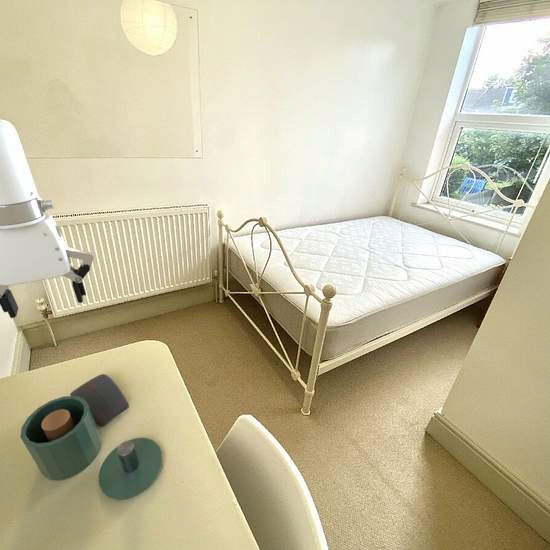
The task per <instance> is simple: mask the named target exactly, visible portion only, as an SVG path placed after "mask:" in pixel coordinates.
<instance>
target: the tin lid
mask: <svg viewBox="0 0 550 550" xmlns="http://www.w3.org/2000/svg"><path fill="white" fill-rule="evenodd" d="M162 465H163V452H162V449H161V447H160V445H159V444H158V443H157V442H155V441H154V440H153V439H150V438H148V437H136V438H131V439H128V440H125V441H123V442H121V443H120V444H119V445H118V446H116V447H115V448H113V449H112V451H110V453H109V454H108V455H107V456H106V458H105V459H104V460H103V462H102V464H101V466H100V469H99V471H98V486H99V488H100V490H101V492H102V493H103V494H104V495H105V496H106V497H107V498H110V499H113V500H116V501H120V500H127V499H131V498H134V497H136V496H138V495H139V494H141V493H143V492H144V491H146V490H147V489H148V488H149V487H150V486H151V485H152V484H153V483H154V481H155V480H156V479H157V477H158V476H159V474H160V472H161V469H162Z"/></svg>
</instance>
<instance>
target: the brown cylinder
mask: <svg viewBox="0 0 550 550" xmlns="http://www.w3.org/2000/svg"><path fill="white" fill-rule="evenodd" d="M41 427H42V429H43V431H44V433H45V435H46V436H47V438H48V440H49V442H51V441H54V440H56V439H59V438H61V437H63V436H64V435H66V434H67V433H69V432H70V431H72V430H73V429H74V428H75V424H74V422H73V420H72V418H71V415H70V413H69V411H67V410H65V409H60V410H56V411H54V412H52V413H50V414H49V415H47V416H46V417H45V418H44V420H43V421H42V424H41Z"/></svg>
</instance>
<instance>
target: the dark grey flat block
mask: <svg viewBox="0 0 550 550" xmlns="http://www.w3.org/2000/svg"><path fill="white" fill-rule="evenodd" d="M69 396H77V397H80V398H83V399H84V400H85V401H86V403H87V404H88V406H89V409H90V411H91V414H92V416H93V419H94V421H95V423H97V424H98V425H99V426H101V427H104V426H106V425H107V424H108V423H109V422H111V421H112V420H113V419H115V418H116V417H117V416H119V415H120V414H121V413H123V412H124V411H125V410H127V409H128V408H130V404H129V402H128V400H127V399H126V397H125V395H124V393H123V392H122V390H121V389H120V387H119V386H118V385H117V384H116V382H115V381H114V380H113V379H112V378H111V377H110V376H108V374H106V373H101V374H98V375H97V376H95V377H93V378H91V379H90V380H88V381H86V382H84V383H83V384H81V385H80V386H78V387H77V388H75V389H74V390H72V391H71V392H70V395H69Z"/></svg>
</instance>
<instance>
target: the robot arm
mask: <svg viewBox="0 0 550 550" xmlns="http://www.w3.org/2000/svg"><path fill="white" fill-rule="evenodd" d="M23 148H24V147H23V146H22V143H21V140H20V137H19V134H18V131H17V130H16V128H15V126H14V125H12V124H11V122H9V121H7V120H5V119H2V118H0V307H1V309H2V312H3V313H8V316H9V318H10V319H14V318H16V317H17V316H18V312H19V305H18V303H17V301H16V299H15V297H14V294H13V292H12V290H11V289H9V287H10V286H11V287H12V286H16V285H17V286H18V285H22V284H29V283H33V282H34V283H35V282H39V281H45V280H49V279H50V280H51V279H56V278H59V277H65V278H67V279H69V280H71V282H72V283H71V285H72V289H73V292H74V295H75V298H76V301H77V303H78V304H82V303H84V296H86V295H87V292H86V289H85V285H84V282H83V279H84V278H85V277H86V275H88V274H89V272H90V271H91V267H92V264H93V261H94V258H95V257H94V253H93V252H91V251H87V250H81V249H79V248H78V249H77V248H74V247H69V246H67V245H66V242H65V240H64V237H63V235H62V232H61V229H60V228H59V226H58V224H57V222H56V221H55V219H54V217H53V216H52V215H53V214H51V213H48V212H47V211H48V210H52V209H55V208H54V203H53V200H52V199H43V198H42V197H41V196H40V194H39V193H38V190H37V187H36V184H35V180H34V178H33V176H32V172H31V169H30V166H29V163H28V161H27V158H26V155H25V151H24V149H23ZM71 258H72V259H77V260H82V263H81V265H80V266H79V267H78V268H77V267H75V266H73V265H72V259H71Z"/></svg>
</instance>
